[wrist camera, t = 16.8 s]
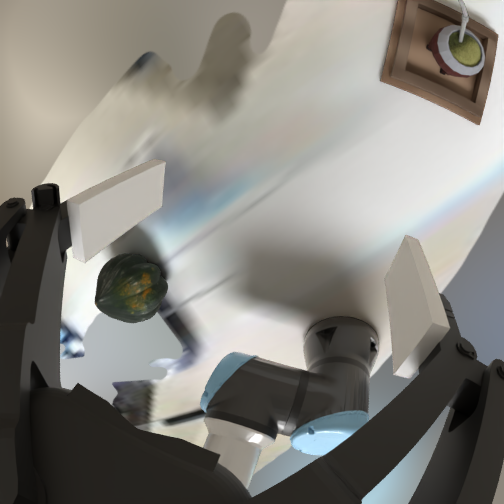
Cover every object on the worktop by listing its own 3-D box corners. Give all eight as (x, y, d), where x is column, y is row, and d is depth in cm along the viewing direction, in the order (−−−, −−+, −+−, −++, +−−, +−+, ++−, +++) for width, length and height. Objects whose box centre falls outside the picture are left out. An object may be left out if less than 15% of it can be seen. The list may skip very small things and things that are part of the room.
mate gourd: (462, 87, 30) (512, 86, 17) (413, 64, 31) (446, 49, 18) (471, 43, 26) (520, 27, 13) (422, 20, 27) (455, -11, 14)
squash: (178, 324, 60) (122, 320, 47) (132, 324, 67) (79, 319, 54) (179, 256, 64) (125, 239, 51) (133, 265, 70) (83, 252, 57)
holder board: (476, 124, 32) (484, 127, 29) (380, 81, 34) (382, 79, 32) (495, 35, 24) (503, 33, 21) (399, -11, 26) (403, -18, 23)
